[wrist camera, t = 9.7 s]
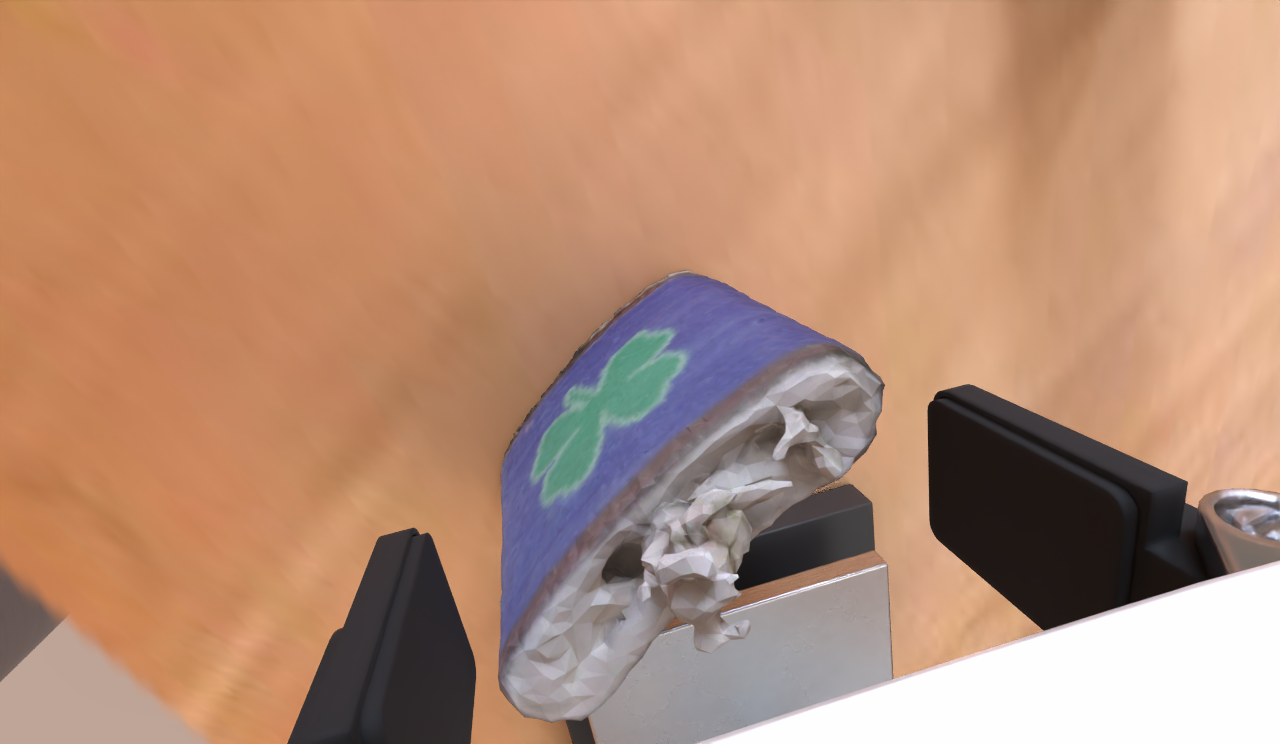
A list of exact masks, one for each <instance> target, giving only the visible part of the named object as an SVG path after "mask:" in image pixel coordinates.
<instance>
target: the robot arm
mask: <svg viewBox="0 0 1280 744" xmlns="http://www.w3.org/2000/svg"><path fill="white" fill-rule="evenodd" d="M928 462H929V517H930V526H931V529H932V531H933V533H934V535H935V537H936V538H937V539H938V540H939V541H940V542H941V543H942V544H943V545H944V546H945V547H947V548H948V549H949V550H950V551H951V552H952V553H954V554H955V555H956V556H957V557H958V558H960V559H961V560H962V561H963V562H964V563H965V564H967V565H968V566H969V567H970V568H971V569H972V570H974V571H975V572H976V573H977V574H978V575H979V576H981V577H982V578H983V579H984V580H985V581H986V582H988V583H989V584H990V585H991V586H992V587H993V588H995V589H996V590H997V591H998V592H999V593H1000V594H1002V595H1003V596H1004V597H1005V598H1006V599H1007V600H1009V601H1010V602H1011V603H1012V604H1013V605H1014V606H1016V607H1017V608H1018V609H1019V610H1020V611H1021V612H1023V613H1024V614H1025V615H1026V616H1027V617H1028V618H1030V619H1031V620H1032V621H1033V622H1034V623H1035V624H1037V625H1038V626H1039V627H1040V628H1041V629H1042V630H1044V631H1042V632H1039V633H1036V634H1033V635H1029V636H1026V637H1023V638H1020V639H1017V640H1014V641H1010V642H1007V643H1004V644H1001V645H998V646H995V647H991V648H988V649H985V650H982V651H979V652H976V653H972V654H969V655H966V656H963V657H960V658H957V659H954V660H951V661H948V662H944V663H941V664H938V665H935V666H932V667H929V668H926V669H923V670H920V671H916V672H913V673H910V674H907V675H904V676H901V677H898V678H895V679H891V680H888V681H885V682H882V683H879V684H876V685H873V686H870V687H867V688H864V689H861V690H857V691H854V692H851V693H848V694H845V695H842V696H839V697H836V698H833V699H830V700H827V701H823V702H820V703H817V704H814V705H811V706H808V707H805V708H802V709H799V710H796V711H793V712H789V713H786V714H783V715H780V716H777V717H774V718H771V719H768V720H765V721H762V722H759V723H756V724H753V725H750V726H747V727H744V728H741V729H738V730H735V731H732V732H729V733H726V734H722V735H719V736H716V737H713V738H710V739H707V740H704V741H701V742H698V743H695V744H1280V493H1277V492H1271V491H1264V490H1257V489H1225V490H1217V491H1214V492H1212V493H1209V494H1207V495H1204V497H1203V498H1202V499H1201V500H1200V501H1199V506H1198V509H1197V508H1195V507H1193V506H1191V505H1189V504H1187V503H1185V498H1186V491H1187V485H1188V482H1187V481H1184V480H1182V479H1180V478H1178V477H1176V476H1173V475H1171V474H1169V473H1167V472H1164V471H1162V470H1160V469H1158V468H1156V467H1153V466H1151V465H1149V464H1147V463H1144V462H1142V461H1140V460H1138V459H1136V458H1133V457H1131V456H1129V455H1127V454H1124V453H1122V452H1120V451H1118V450H1116V449H1113V448H1111V447H1109V446H1107V445H1104V444H1102V443H1100V442H1098V441H1096V440H1093V439H1091V438H1089V437H1087V436H1084V435H1082V434H1080V433H1078V432H1076V431H1073V430H1071V429H1069V428H1067V427H1064V426H1062V425H1060V424H1058V423H1056V422H1053V421H1051V420H1049V419H1047V418H1044V417H1042V416H1040V415H1038V414H1036V413H1033V412H1031V411H1029V410H1027V409H1024V408H1022V407H1020V406H1018V405H1016V404H1013V403H1011V402H1009V401H1007V400H1005V399H1002V398H1000V397H998V396H996V395H993V394H991V393H989V392H987V391H985V390H982V389H980V388H978V387H976V386H973V385H970V384H967V385H962V386H958V387H955V388H951V389H947V390H943V391H939V392H938V393H937V394H936V395H935V397H934V400H933V401H932V402H930V403H929V406H928ZM475 683H476V667H475V660H474V656H473V652H472V649H471V647H470V644H469V641H468V638H467V635H466V632H465V630H464V627H463V624H462V621H461V618H460V615H459V613H458V610H457V607H456V604H455V601H454V598H453V596H452V593H451V590H450V587H449V584H448V581H447V579H446V576H445V573H444V570H443V567H442V564H441V562H440V559H439V556H438V553H437V550H436V548H435V545H434V542H433V539H432V537H431V535H430V534H429V533H425V534H421V535H420V534H419V532H418V531H417V529H415V528H411V529H407V530H403V531H399V532H395V533H392V534H388V535H384V536H381V537H379V538H378V540H377V542H376V545H375V547H374V550H373V552H372V555H371V558H370V560H369V563H368V565H367V568H366V570H365V573H364V575H363V578H362V581H361V583H360V586H359V588H358V591H357V593H356V596H355V599H354V601H353V604H352V606H351V609H350V611H349V614H348V617H347V619H346V622H345V624H344V627H343V628H341V629H338V630H337V631H335V632H334V634H333V635H332V637H331V639H330V641H329V643H328V645H327V648H326V650H325V653H324V655H323V658H322V660H321V663H320V665H319V667H318V670H317V672H316V675H315V677H314V680H313V682H312V685H311V687H310V690H309V692H308V694H307V697H306V699H305V702H304V704H303V707H302V709H301V712H300V714H299V716H298V719H297V721H296V724H295V726H294V729H293V731H292V734H291V736H290V738H289V741H288V743H287V744H470V743H471V731H472V719H473V707H474V695H475Z"/></svg>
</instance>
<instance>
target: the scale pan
mask: <svg viewBox="0 0 1280 744" xmlns="http://www.w3.org/2000/svg"><path fill="white" fill-rule="evenodd" d="M739 592H740V593H741V595H740V596H739V597H738V598H737V599H736V600H734V601H732V602H730V603H728V604H727V605H725V606H724V607H723V608H722V609H721V618H723V619H724V620H725V621H726V622H727V623H729V624H733V623H736V622H739V621H742V620H744V619H747V620H748V621H750V622H751V629H750V631H749V633H748V635H747V636H746V638H745V639H737V640H730V641H729V642H727V643H726V644H724V645H723V646H721V647H720V648H718V649H717V650H716V651H714V652H713V653H706V652H702V651H698V650H697V649H696V648H695V647H694V626H693V625H691V624H687V623H684V622H680V621H679V620H678V618H677V617H676V618H674V619H673V620H671V621H670V622H669V623H668V625H667V626H666V627H665V628H664V630H663V631H662V632H661V633H660V634H659V636H658V637H657V638H655V639H654V640H653V641H652V643H651V645H650V646H649V648H648V650H647V651H646V653H645V655H644V656H643V658H642V659H641V660H640V661H639V662H638V663H637V664H636V665H635V666H634V667H633V668H632V670H631V671H630V672H629V673H628V675H627V676H626V678H625V680H624V681H623V682H622V684H621V685H620V687H619V688H618V689H617V691H616V692H615V693H614V694H613V695H612V696H611V697H610V698H609V699H608V700H607V701H606V702H605V703H604V704H603V705H602V706H601V707H600V708H599V709H598V710H596V711H595V712H593V713H592V714H591V715H589V716H588V719H589V723H590V726H591V730H592V733H593V737H594V740H595V744H695V743H698V742H701V741H704V740H707V739H710V738H713V737H716V736H719V735H722V734H726V733H729V732H732V731H735V730H738V729H741V728H744V727H747V726H750V725H753V724H756V723H759V722H762V721H765V720H768V719H771V718H774V717H777V716H780V715H783V714H786V713H789V712H793V711H796V710H799V709H802V708H805V707H808V706H811V705H814V704H817V703H820V702H823V701H827V700H830V699H833V698H836V697H839V696H842V695H845V694H848V693H851V692H854V691H857V690H861V689H864V688H867V687H870V686H873V685H876V684H879V683H882V682H885V681H888V680H891V679H893V664H892V643H891V623H890V603H889V583H888V565H887V563H886V562H885V561H884V560H883V559H882V558H881V557H880V556H879V555H878V554H877V552H876V551H874V550H871V551H868V552H865V553H862V554H858V555H855V556H852V557H848V558H845V559H842V560H838V561H835V562H832V563H829V564H825V565H822V566H819V567H815V568H812V569H809V570H806V571H802V572H799V573H796V574H792V575H789V576H786V577H783V578H779V579H776V580H773V581H769V582H766V583H763V584H759V585H756V586H753V587H750V588H746V589H743V590H740V591H739Z"/></svg>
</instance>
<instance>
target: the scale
mask: <svg viewBox="0 0 1280 744" xmlns="http://www.w3.org/2000/svg"><path fill="white" fill-rule="evenodd" d="M871 550H874V551H875V543H874V526H873V508H872V502H871V501H870V500H869V499H868V498H867V497H865V496H864V495H863V494H862V493H861V492H860V491H859V490H857V489H856V488H855V487H854V486H853V485H851V484H849V485H846V486H842V487H839V488H835V489H832V490H828V491H825V492H821V493H818V494H814V495H811V496H810V497H808V498H806V499H804V500H802V501H799V502H797V503H795V504H793V505H792V506H791V507H789V508H788V509H787V510H786V511H784V512H783V513H782V514H781V515H780V516H779V517H778V518H777V519H776V520H775V521H774V523H773V524H772V525H771V526H769V527H768V528H766V529H764V530H762V531H761V532H760V533H759V534H758V535H757V536H756V537H755V538H754V539H752V540H751V541H750V546H749V551H748V552H746V553H745V554H743V558H742V563H741V565H740V567H739V569H738V571H737V573H736V574H738V577H739V578H738V579H737V580H735V581H734V587H735V589H736V590H738V591H740V590H743V589H746V588H750V587H753V586H756V585H759V584H763V583H766V582H769V581H773V580H776V579H779V578H783V577H786V576H789V575H792V574H796V573H799V572H802V571H806V570H809V569H812V568H815V567H819V566H822V565H825V564H829V563H832V562H835V561H838V560H842V559H845V558H848V557H852V556H855V555H858V554H862V553H865V552H868V551H871ZM566 722H567V726H568V729H569V732H570V736H571V739H572V742H573V744H595V740H594V737H593V733H592V730H591V726H590V723H589V719H588V717H586V718H585V719H583V720H582V721H577V720H566Z"/></svg>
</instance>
